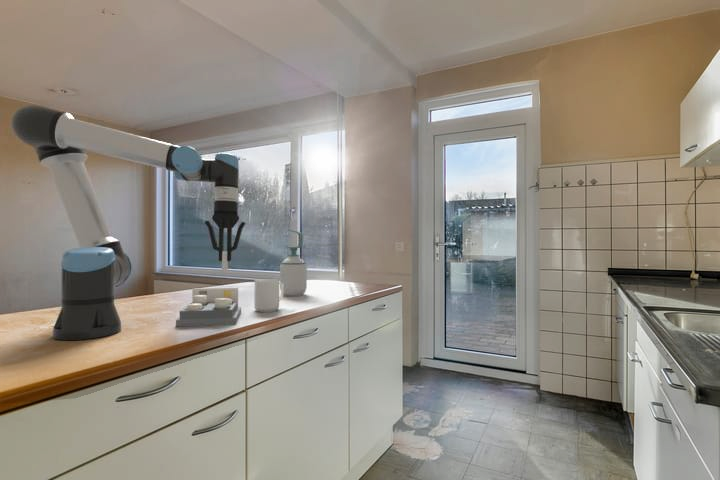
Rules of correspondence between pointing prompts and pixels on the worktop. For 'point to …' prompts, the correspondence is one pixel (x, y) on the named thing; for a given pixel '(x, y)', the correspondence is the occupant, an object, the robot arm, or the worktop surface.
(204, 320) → the button pad
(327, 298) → the worktop surface
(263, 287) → the mug
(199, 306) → the button front left
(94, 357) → the worktop surface
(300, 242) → the soap bottle
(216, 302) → the button front right
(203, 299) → the button back left
